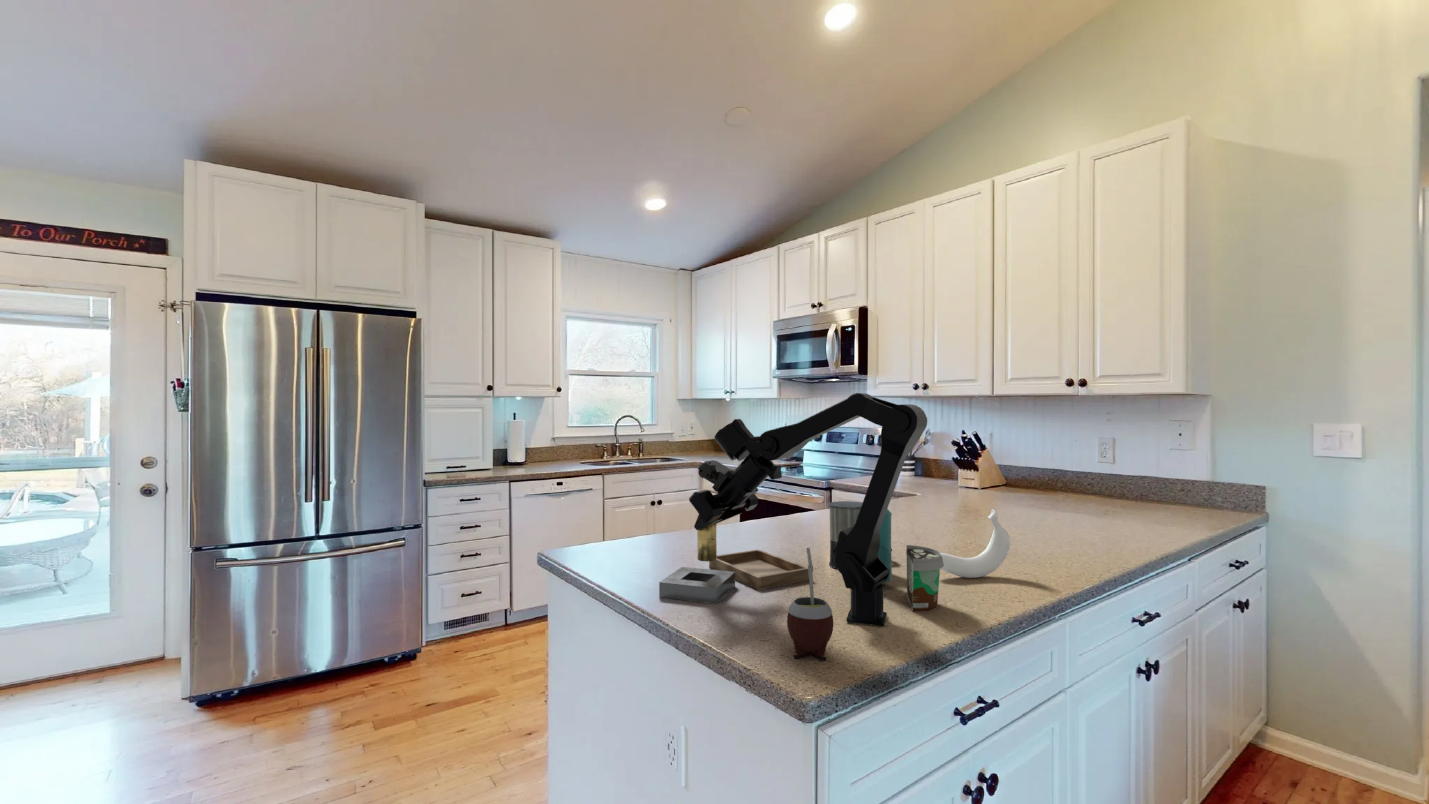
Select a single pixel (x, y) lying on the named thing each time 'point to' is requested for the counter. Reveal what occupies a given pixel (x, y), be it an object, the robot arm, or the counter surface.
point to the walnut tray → (760, 569)
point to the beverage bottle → (886, 543)
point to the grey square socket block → (697, 585)
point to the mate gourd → (810, 623)
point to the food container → (923, 577)
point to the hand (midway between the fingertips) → (701, 526)
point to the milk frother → (841, 522)
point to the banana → (981, 555)
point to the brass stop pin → (707, 543)
